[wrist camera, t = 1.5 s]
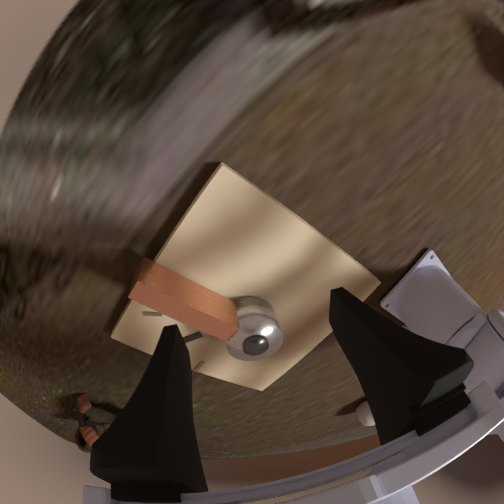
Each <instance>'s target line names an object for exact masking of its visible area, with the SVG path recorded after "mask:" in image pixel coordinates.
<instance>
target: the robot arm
mask: <svg viewBox="0 0 504 504" xmlns="http://www.w3.org/2000/svg"><path fill="white" fill-rule="evenodd" d="M380 305H381V307H382V308H384V309H385V310H387V311H388V312H389V313H391V314H392V315H394V316H395V317H396V318H398V319H399V320H401V321H402V322H403V323H405V325H406V326H407V327H408V329H409V330H410V331H409V330H407V329H405V328H403V327H401V326H399V325H397V324H395V323H394V322H392V321H390V320H389V319H387V318H385V317H384V316H382V315H381V314H379V313H378V312H376V311H375V310H373V309H372V308H371V307H369V306H368V305H366V304H365V303H364V302H362V301H361V300H360V299H358V298H357V297H355V296H354V295H353V294H352V293H350V292H349V291H347V290H346V289H345V288H343V287H339V288H335V289H332V290H331V291H330V307H329V323H330V325H331V328H332V330H333V332H334V335H335V337H336V339H337V341H338V343H339V345H340V346H341V348H342V350H343V352H344V353H345V355H346V357H347V359H348V360H349V362H350V364H351V366H352V367H353V369H354V371H355V373H356V375H357V377H358V379H359V381H360V384H361V386H362V389H363V391H364V394H365V396H366V399H367V402H368V404H369V407H370V410H371V413H372V416H373V419H374V422H375V425H376V429H377V432H378V436H379V440H380V444H381V446H380V447H378V448H375V449H373V450H371V451H368V452H366V453H363V454H361V455H358V456H356V457H353V458H351V459H348V460H346V461H343V462H340V463H337V464H334V465H331V466H328V467H325V468H322V469H319V470H316V471H312V472H309V473H305V474H302V475H298V476H294V477H290V478H287V479H282V480H278V481H274V482H269V483H264V484H259V485H254V486H248V487H242V488H235V489H228V490H220V491H211V492H208V487H207V484H206V480H205V476H204V473H203V468H202V464H201V459H200V455H199V450H198V445H197V439H196V434H195V427H194V421H193V407H192V370H191V362H190V354H189V350H188V348H187V346H186V344H185V341H184V339H183V337H182V335H181V332H180V330H179V328H178V325H177V324H174V325H168V326H164V327H163V329H162V332H161V335H160V338H159V340H158V343H157V346H156V348H155V351H154V353H153V355H152V358H151V360H150V362H149V365H148V367H147V369H146V371H145V373H144V375H143V377H142V379H141V381H140V383H139V385H138V386H137V388H136V390H135V392H134V393H133V395H132V397H131V398H130V400H129V401H128V403H127V404H126V406H125V407H124V409H123V410H122V411H121V413H120V414H119V415H118V417H117V418H116V419H115V420H114V421H113V423H112V424H111V425H110V426H109V427H108V429H107V430H106V431H105V432H104V433H103V434H102V435H101V436H100V437H99V438H98V439H97V440H96V441H95V442H94V443H93V444H92V448H91V458H90V471H91V472H92V473H93V475H95V476H97V477H99V478H100V479H103V480H104V481H106V482H109V483H111V489H108V488H103V487H95V486H87V485H84V486H83V504H242V503H248V502H254V501H260V500H265V499H270V498H275V497H280V496H284V495H288V494H292V493H296V492H300V491H303V490H307V489H311V488H314V487H317V486H320V485H324V484H327V483H330V482H333V481H336V480H339V479H342V478H344V477H347V476H350V475H352V474H355V473H357V472H360V471H363V470H365V469H367V468H370V467H372V466H374V465H376V466H374V467H373V468H372V471H371V472H370V473H368V474H367V475H365V476H363V477H361V478H358V479H355V480H352V481H349V482H346V483H343V484H340V485H337V486H334V487H331V488H328V489H325V490H322V491H319V492H316V493H312V494H308V495H305V496H302V497H298V498H295V499H291V500H287V501H283V502H279V503H275V504H419V501H418V499H417V497H416V495H415V493H414V490H413V488H412V485H414V484H415V483H417V482H419V481H421V480H423V479H424V478H426V477H428V476H429V475H431V474H433V473H434V472H436V471H438V470H439V469H441V468H442V467H444V466H445V465H447V464H448V463H450V462H451V461H453V460H454V459H456V458H457V457H459V456H460V455H461V454H463V453H464V452H466V451H467V450H468V449H470V448H471V447H472V446H474V445H475V444H476V443H477V442H479V441H480V440H481V439H482V438H484V437H485V436H486V435H488V434H498V435H499V436H500V438H501V439H502V440H503V442H504V388H503V389H502V390H501V391H500V392H499V393H498V394H497V395H496V393H497V391H499V390H500V388H501V387H502V386H503V385H504V312H502V311H501V310H491V311H490V312H489V314H486V313H485V312H484V311H483V310H482V309H481V308H480V307H479V305H478V304H477V303H476V302H475V301H474V300H473V299H472V298H471V297H470V296H469V295H468V294H467V293H466V292H465V291H464V290H463V289H462V288H461V287H460V286H459V285H458V284H457V283H456V282H455V281H454V280H453V279H452V277H451V276H450V274H449V273H448V272H447V270H446V269H445V267H444V266H443V264H442V263H441V261H440V260H439V259H438V257H437V256H436V254H435V253H434V252H433V251H432V250H431V249H428V250H427V251H426V252H425V253H424V254H423V256H422V257H421V258H420V259H419V260H418V261H417V262H416V264H415V265H414V266H413V267H412V268H411V269H410V270H409V272H408V273H407V274H406V275H405V276H404V277H403V278H402V279H401V280H400V281H399V282H398V284H397V285H396V286H395V287H394V288H393V289H392V290H391V291H390V292H389V293H388V294H387V295H386V296H385V297H384V298H383V299H382V300H381V302H380ZM383 461H384V462H383ZM381 462H382V463H381ZM379 463H380V464H379ZM377 464H378V465H377Z"/></svg>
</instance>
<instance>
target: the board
mask: <svg viewBox="0 0 504 504" xmlns="http://www.w3.org/2000/svg"><path fill="white" fill-rule="evenodd" d="M153 261H155V262H157V263H159V264H161V265H163V266H165V267H166V268H168V269H170V270H172V271H174V272H176V273H178V274H180V275H182V276H184V277H186V278H188V279H190V280H192V281H194V282H196V283H198V284H200V285H202V286H204V287H206V288H208V289H210V290H212V291H214V292H216V293H218V294H220V295H222V296H224V297H226V298H228V299H230V300H232V301H234V302H235V301H237V300H239V299H243V298H247V297H257V298H262V299H264V300H266V301H268V302H269V303H270V304H271V305H272V307H273V309H274V311H275V314H276V317H277V320H278V323H279V326H280V329H281V332H282V334H283V342H282V345H281V347H280V348H279V349H278V350H277V351H276V352H275V353H274V354H272V355H271V356H269V357H267V358H264V359H261V360H257V361H242V360H238V359H236V358H234V357H232V356H231V355H230V354H229V353H228V351H227V347H226V341H225V340H222V339H220V338H217V337H215V336H212V335H210V334H207V333H205V332H203V331H200V330H198V329H195V328H193V327H191V326H188V325H186V324H184V323H181V322H179V321H177V320H175V319H172V318H170V317H168V316H166V315H164V314H161V313H159V312H157V311H155V310H153V309H151V308H148V307H146V306H144V305H142V304H140V303H138V302H136V301H134V300H132V299H130V300H129V302H128V303H127V305H126V307H125V309H124V310H123V312H122V314H121V316H120V317H119V319H118V321H117V323H116V325H115V326H114V328H113V330H112V334H111V338H113V339H115V340H117V341H119V342H122V343H124V344H126V345H129V346H131V347H133V348H136V349H138V350H141V351H143V352H145V353H148V354H150V355H153V353H154V351H155V348H156V346H157V343H158V340H159V338H160V335H161V332H162V329H163V327H164V326H168V325H174V324H177V325H178V328H179V330H180V332H181V335H182V337H183V339H184V341H185V344H186V346H187V348H188V350H189V354H190V362H191V370H194V371H197V372H200V373H203V374H206V375H209V376H212V377H215V378H219V379H222V380H225V381H229V382H232V383H235V384H239V385H243V386H246V387H250V388H254V389H257V390H261V391H263V390H264V389H265V388H266V387H268V386H269V385H270V384H272V383H273V382H274V381H275V380H277V379H278V378H279V377H280V376H282V375H283V374H284V373H285V372H286V371H288V370H289V369H290V368H291V367H292V366H294V365H295V364H296V363H297V362H298V361H300V360H301V359H302V358H303V357H304V356H305V355H307V354H308V353H309V352H310V351H311V350H312V349H313V348H314V347H316V346H317V345H318V344H319V343H320V342H321V341H322V340H323V339H325V338H326V337H327V336H328V335H329V334H330V333H331V332H332V331H333V330H332V328H331V325H330V323H329V307H330V291H331V290H332V289H335V288H339V287H343V288H345V289H346V290H347V291H349V292H350V293H352V294H353V295H354V296H355V297H357V298H358V299H360V300H361V301H362V302H363V301H364V300H365V299H366V298H367V297H368V296H369V295H370V294H371V293H372V292H373V291H374V290H375V289H376V288H377V287H378V286H379V285H380V284H381V282H380V281H379V280H378V278H377V277H376V276H375V275H373V274H372V273H371V272H370V271H368V270H367V269H366V268H365V267H364V266H362V265H361V264H360V263H359V262H357V261H356V260H355V259H354V258H352V257H351V256H350V255H349V254H347V253H346V252H345V251H343V250H342V249H341V248H340V247H338V246H337V245H336V244H334V243H333V242H332V241H331V240H329V239H328V238H327V237H325V236H324V235H323V234H321V233H320V232H319V231H318V230H316V229H315V228H314V227H312V226H311V225H310V224H308V223H307V222H306V221H304V220H303V219H302V218H300V217H299V216H298V215H296V214H295V213H294V212H292V211H291V210H289V209H288V208H287V207H285V206H284V205H283V204H281V203H280V202H278V201H277V200H276V199H274V198H273V197H271V196H270V195H269V194H267V193H266V192H264V191H263V190H262V189H260V188H259V187H257V186H256V185H255V184H253V183H252V182H250V181H249V180H247V179H246V178H245V177H243V176H242V175H240V174H239V173H237V172H236V171H234V170H233V169H231V168H230V167H228V166H227V165H225V164H224V163H223V162H221V163H220V164H219V166H218V167H217V168H216V170H215V171H214V172H213V174H212V175H211V176H210V178H209V179H208V181H207V182H206V183H205V185H204V186H203V187H202V189H201V190H200V192H199V193H198V195H197V196H196V197H195V199H194V200H193V202H192V203H191V205H190V206H189V207H188V209H187V210H186V212H185V213H184V215H183V216H182V218H181V219H180V221H179V222H178V224H177V225H176V227H175V228H174V230H173V231H172V233H171V234H170V236H169V237H168V239H167V240H166V242H165V243H164V245H163V246H162V248H161V249H160V251H159V253H158V254H157V256H156V257H155V259H154V260H153Z"/></svg>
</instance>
